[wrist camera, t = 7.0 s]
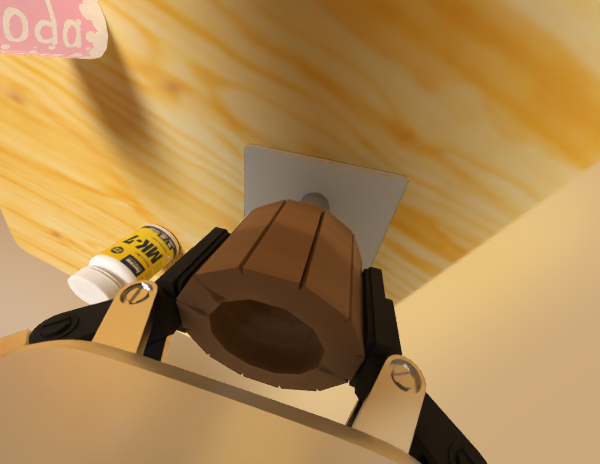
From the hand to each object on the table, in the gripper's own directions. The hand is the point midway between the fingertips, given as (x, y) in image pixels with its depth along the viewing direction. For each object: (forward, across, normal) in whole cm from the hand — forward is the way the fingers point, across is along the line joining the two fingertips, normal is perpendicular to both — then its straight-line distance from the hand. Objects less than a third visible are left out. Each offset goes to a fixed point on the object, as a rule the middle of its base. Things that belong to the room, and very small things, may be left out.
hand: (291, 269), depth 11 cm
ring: (+1, 0, 0) cm, 1 cm away
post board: (+9, 0, +3) cm, 9 cm away
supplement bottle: (+9, +17, +9) cm, 21 cm away
